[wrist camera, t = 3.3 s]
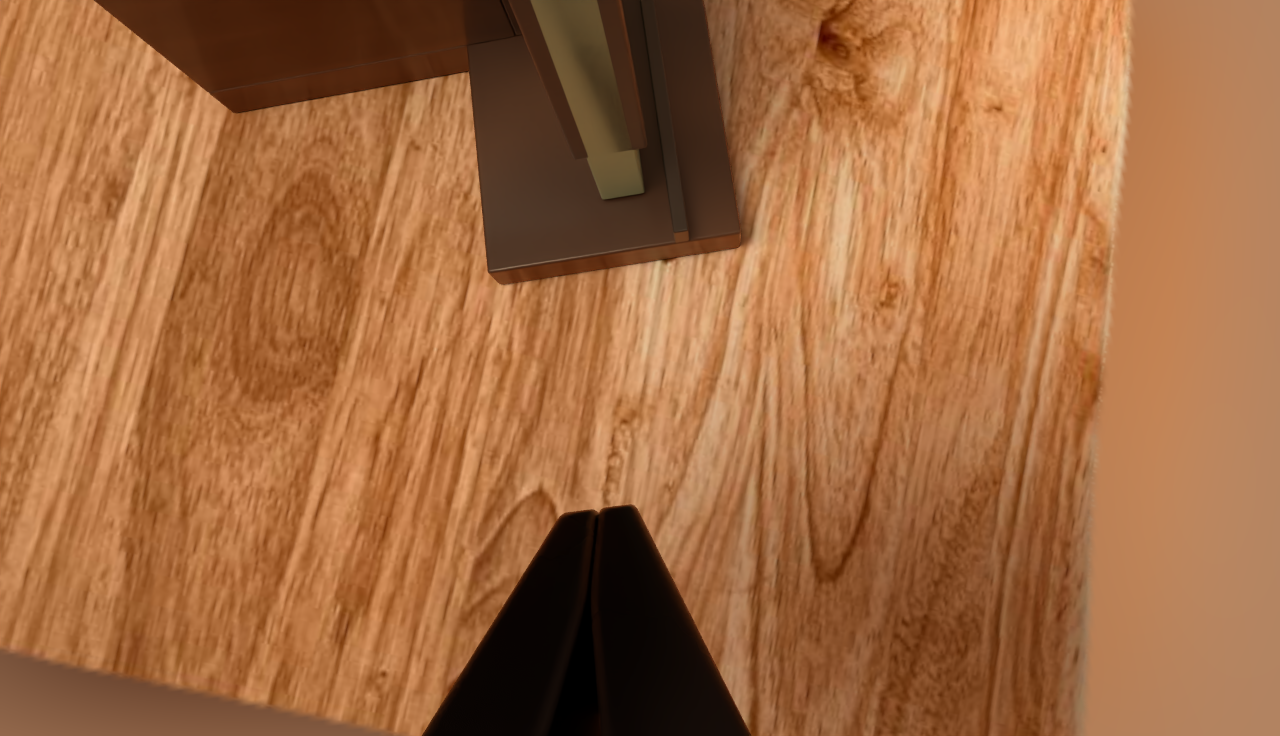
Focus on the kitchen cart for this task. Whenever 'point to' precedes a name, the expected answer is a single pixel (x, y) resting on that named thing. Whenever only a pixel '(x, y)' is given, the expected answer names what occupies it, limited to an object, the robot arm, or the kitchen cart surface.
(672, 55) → the cabinet
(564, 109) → the door
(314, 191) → the kitchen cart surface
